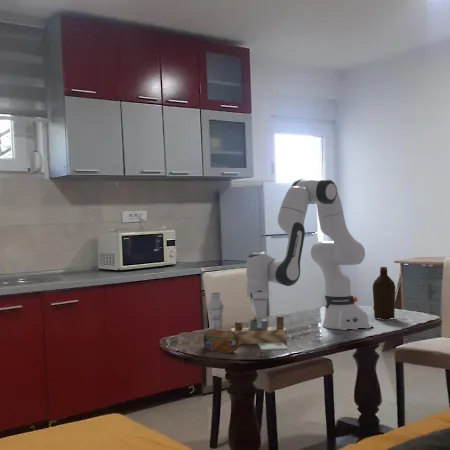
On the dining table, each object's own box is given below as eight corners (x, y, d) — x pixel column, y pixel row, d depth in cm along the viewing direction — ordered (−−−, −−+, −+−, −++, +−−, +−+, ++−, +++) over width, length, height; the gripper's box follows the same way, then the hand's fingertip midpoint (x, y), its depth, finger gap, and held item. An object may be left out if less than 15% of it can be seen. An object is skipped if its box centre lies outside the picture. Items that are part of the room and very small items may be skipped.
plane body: (283, 338, 241) (283, 314, 241) (286, 342, 234) (286, 317, 234) (230, 340, 239) (230, 316, 239) (232, 344, 232) (231, 319, 232)
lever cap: (266, 327, 239) (265, 317, 239) (267, 329, 234) (267, 318, 234) (249, 328, 238) (248, 317, 238) (250, 330, 234) (250, 319, 234)
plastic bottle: (228, 341, 237) (227, 292, 236) (216, 344, 231) (215, 294, 231) (216, 339, 241) (215, 291, 240) (205, 342, 236) (204, 293, 235)
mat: (282, 343, 231) (282, 342, 231) (287, 349, 221) (287, 347, 221) (257, 344, 230) (257, 343, 230) (261, 350, 220) (261, 348, 220)
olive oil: (399, 318, 282) (399, 266, 281) (388, 321, 275) (387, 268, 274) (380, 315, 290) (380, 265, 289) (368, 318, 282) (368, 267, 282)
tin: (203, 350, 223) (202, 328, 223) (208, 348, 226) (207, 326, 226) (236, 354, 215) (235, 332, 215) (240, 353, 217) (240, 330, 217)
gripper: (247, 289, 246) (247, 321, 247) (252, 295, 226) (253, 331, 226) (261, 288, 247) (262, 321, 247) (269, 295, 226) (269, 330, 227)
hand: (258, 326), depth 236 cm, fingers closed on lever cap, 4 cm apart
